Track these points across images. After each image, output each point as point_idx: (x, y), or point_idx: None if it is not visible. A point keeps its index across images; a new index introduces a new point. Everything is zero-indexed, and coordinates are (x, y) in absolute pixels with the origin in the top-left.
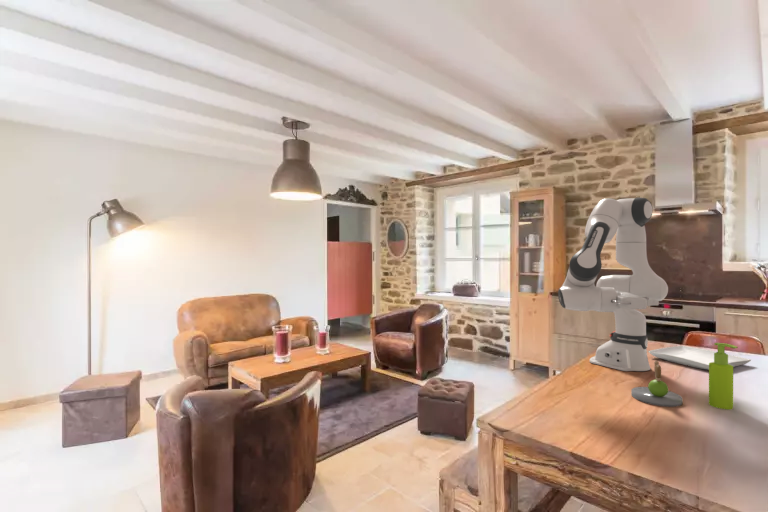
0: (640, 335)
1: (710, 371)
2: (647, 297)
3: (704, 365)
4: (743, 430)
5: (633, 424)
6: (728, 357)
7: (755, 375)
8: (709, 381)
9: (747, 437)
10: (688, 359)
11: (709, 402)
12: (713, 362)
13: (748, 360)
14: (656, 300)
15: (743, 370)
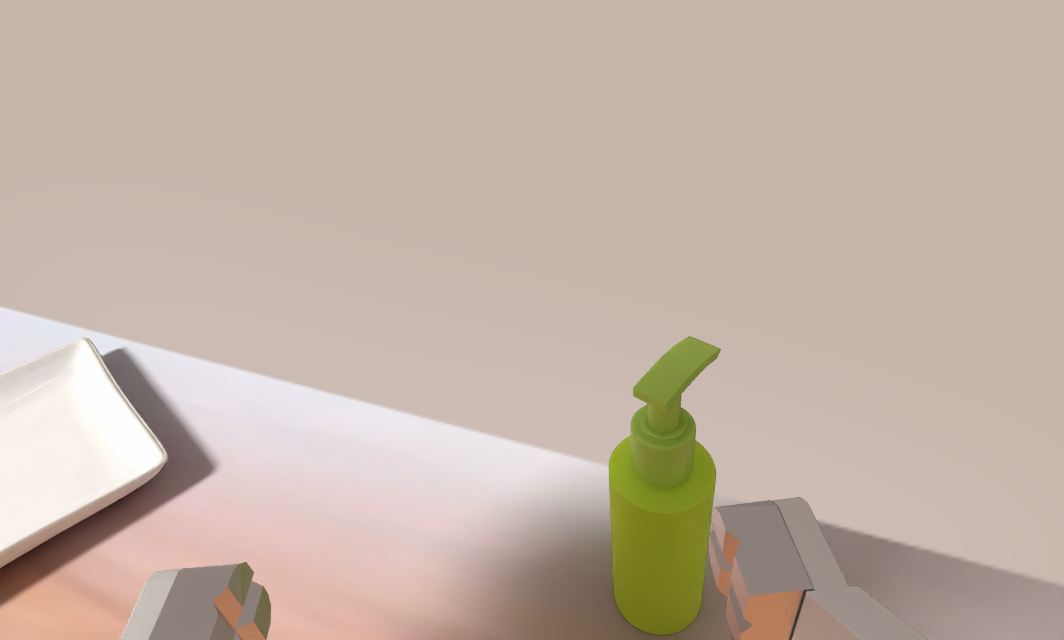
0: None
1: (679, 536)
2: (237, 580)
3: (123, 490)
4: (956, 603)
5: None
6: (14, 382)
7: (211, 375)
8: (667, 572)
9: (1043, 615)
10: (38, 530)
11: (665, 629)
12: (637, 487)
13: (93, 345)
14: (815, 525)
15: (146, 387)
